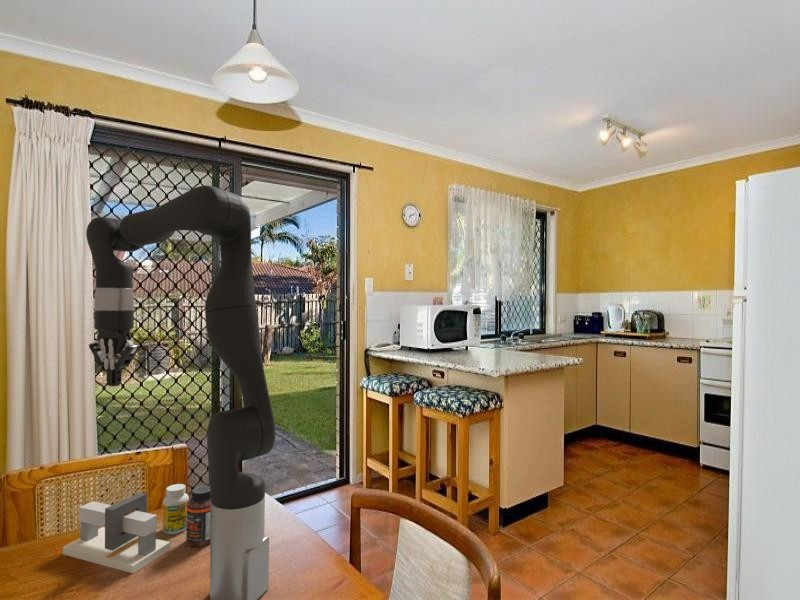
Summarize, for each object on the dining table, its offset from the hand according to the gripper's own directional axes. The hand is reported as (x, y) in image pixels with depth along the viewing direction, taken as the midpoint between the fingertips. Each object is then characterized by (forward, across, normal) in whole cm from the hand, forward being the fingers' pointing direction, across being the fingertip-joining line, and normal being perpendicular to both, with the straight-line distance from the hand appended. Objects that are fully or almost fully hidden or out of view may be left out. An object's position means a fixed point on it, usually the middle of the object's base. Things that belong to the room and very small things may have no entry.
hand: (113, 385), depth 103 cm
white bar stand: (+33, -8, +6) cm, 34 cm away
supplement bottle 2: (+33, -21, -4) cm, 39 cm away
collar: (+30, -10, +5) cm, 32 cm away
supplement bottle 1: (+33, -12, -6) cm, 36 cm away
